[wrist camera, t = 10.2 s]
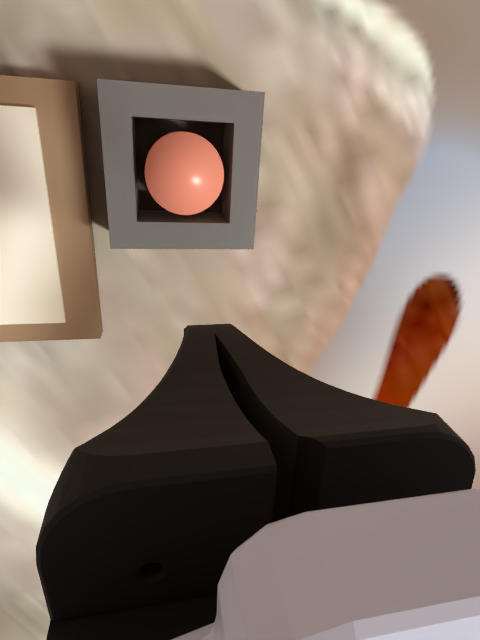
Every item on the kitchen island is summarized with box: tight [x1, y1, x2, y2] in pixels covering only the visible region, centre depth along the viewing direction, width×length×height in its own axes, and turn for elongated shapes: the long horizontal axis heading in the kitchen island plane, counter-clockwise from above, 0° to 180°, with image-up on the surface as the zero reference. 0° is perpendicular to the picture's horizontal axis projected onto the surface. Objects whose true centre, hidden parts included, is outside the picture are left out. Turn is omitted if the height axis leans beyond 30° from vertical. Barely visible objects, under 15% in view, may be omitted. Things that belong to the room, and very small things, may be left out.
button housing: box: [97, 79, 265, 249], centre depth 17 cm, size 6×6×2 cm
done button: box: [145, 131, 224, 215], centre depth 16 cm, size 3×3×2 cm
